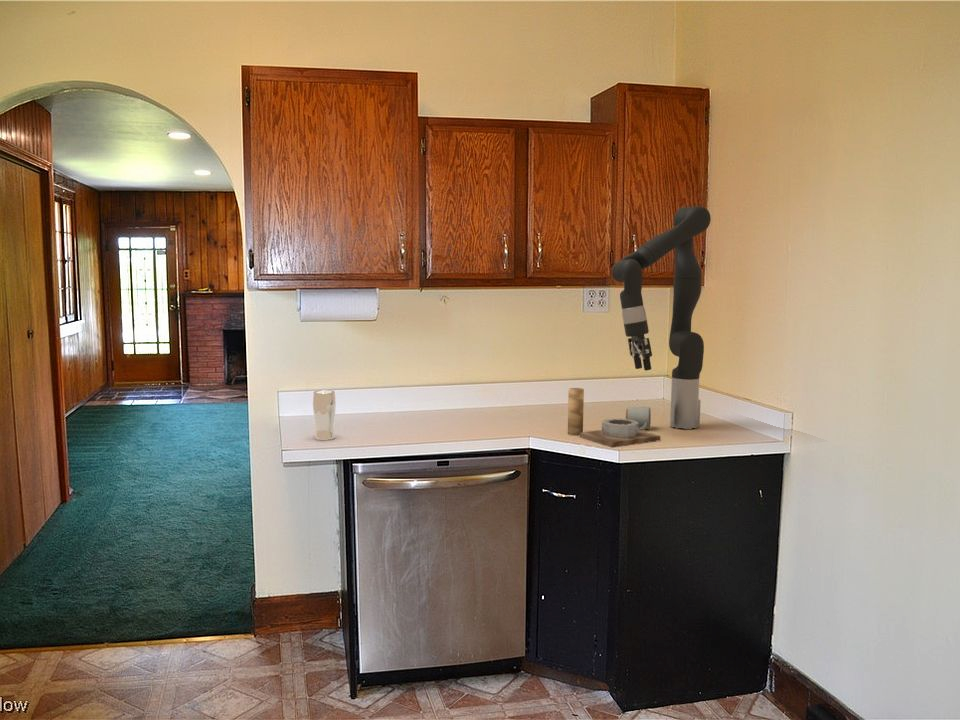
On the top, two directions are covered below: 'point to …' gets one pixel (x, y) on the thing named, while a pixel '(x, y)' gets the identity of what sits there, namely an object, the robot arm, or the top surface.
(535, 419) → the top surface
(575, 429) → the oak peg
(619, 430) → the steel sleeve
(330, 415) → the beer glass
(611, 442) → the walnut board
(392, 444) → the top surface
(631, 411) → the ceramic mug
